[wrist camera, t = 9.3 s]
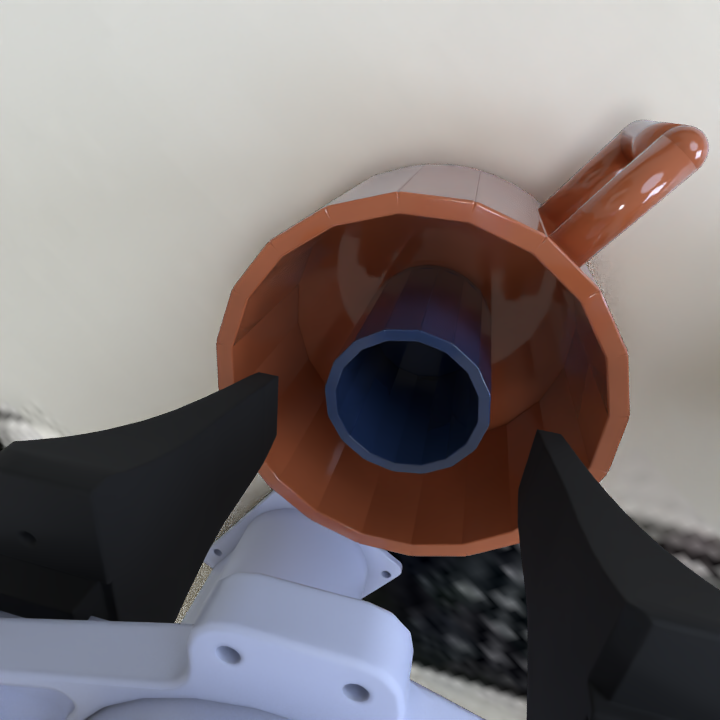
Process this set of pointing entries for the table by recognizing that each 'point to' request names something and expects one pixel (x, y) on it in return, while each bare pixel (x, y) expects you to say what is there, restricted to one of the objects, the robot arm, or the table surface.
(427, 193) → the orange handled mug
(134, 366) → the table surface
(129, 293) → the table surface
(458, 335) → the cup
